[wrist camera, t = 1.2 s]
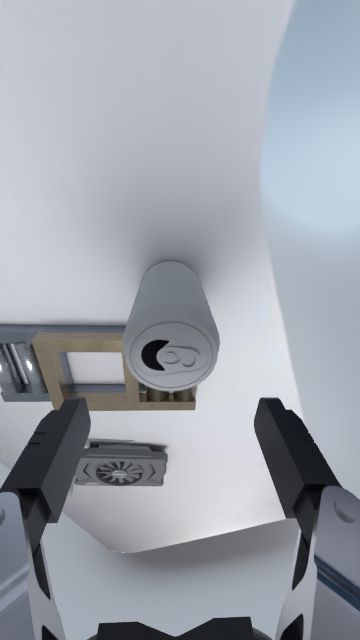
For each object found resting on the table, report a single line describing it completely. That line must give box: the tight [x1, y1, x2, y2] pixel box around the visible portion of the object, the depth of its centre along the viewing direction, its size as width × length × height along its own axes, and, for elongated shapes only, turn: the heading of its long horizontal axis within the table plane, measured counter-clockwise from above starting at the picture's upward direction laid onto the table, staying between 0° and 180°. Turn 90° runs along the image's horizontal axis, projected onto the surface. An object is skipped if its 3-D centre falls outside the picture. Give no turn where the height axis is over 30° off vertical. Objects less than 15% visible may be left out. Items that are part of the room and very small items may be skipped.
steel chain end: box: [0, 325, 143, 402], centre depth 27 cm, size 11×18×2 cm, turn 88°
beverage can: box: [123, 261, 220, 391], centre depth 19 cm, size 6×6×12 cm
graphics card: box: [69, 438, 167, 496], centre depth 38 cm, size 17×4×12 cm
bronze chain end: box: [31, 332, 197, 411], centre depth 27 cm, size 11×18×3 cm, turn 88°
